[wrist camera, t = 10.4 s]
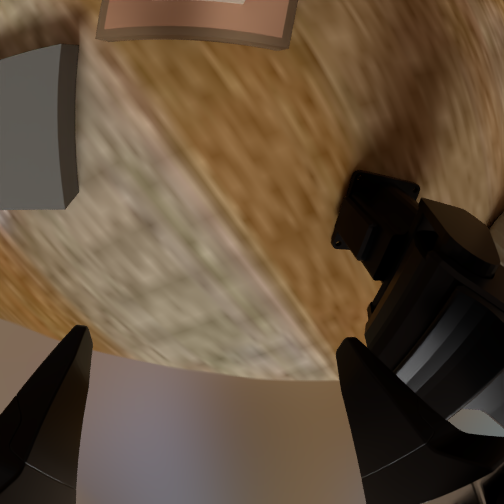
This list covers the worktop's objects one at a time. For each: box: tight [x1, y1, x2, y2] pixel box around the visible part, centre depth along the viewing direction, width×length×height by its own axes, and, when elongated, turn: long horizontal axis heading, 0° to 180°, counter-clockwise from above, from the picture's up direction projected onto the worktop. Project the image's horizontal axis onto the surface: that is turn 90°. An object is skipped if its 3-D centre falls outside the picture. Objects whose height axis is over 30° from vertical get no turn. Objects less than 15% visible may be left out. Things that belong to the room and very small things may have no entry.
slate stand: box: [0, 44, 79, 210], centre depth 12 cm, size 10×10×2 cm
